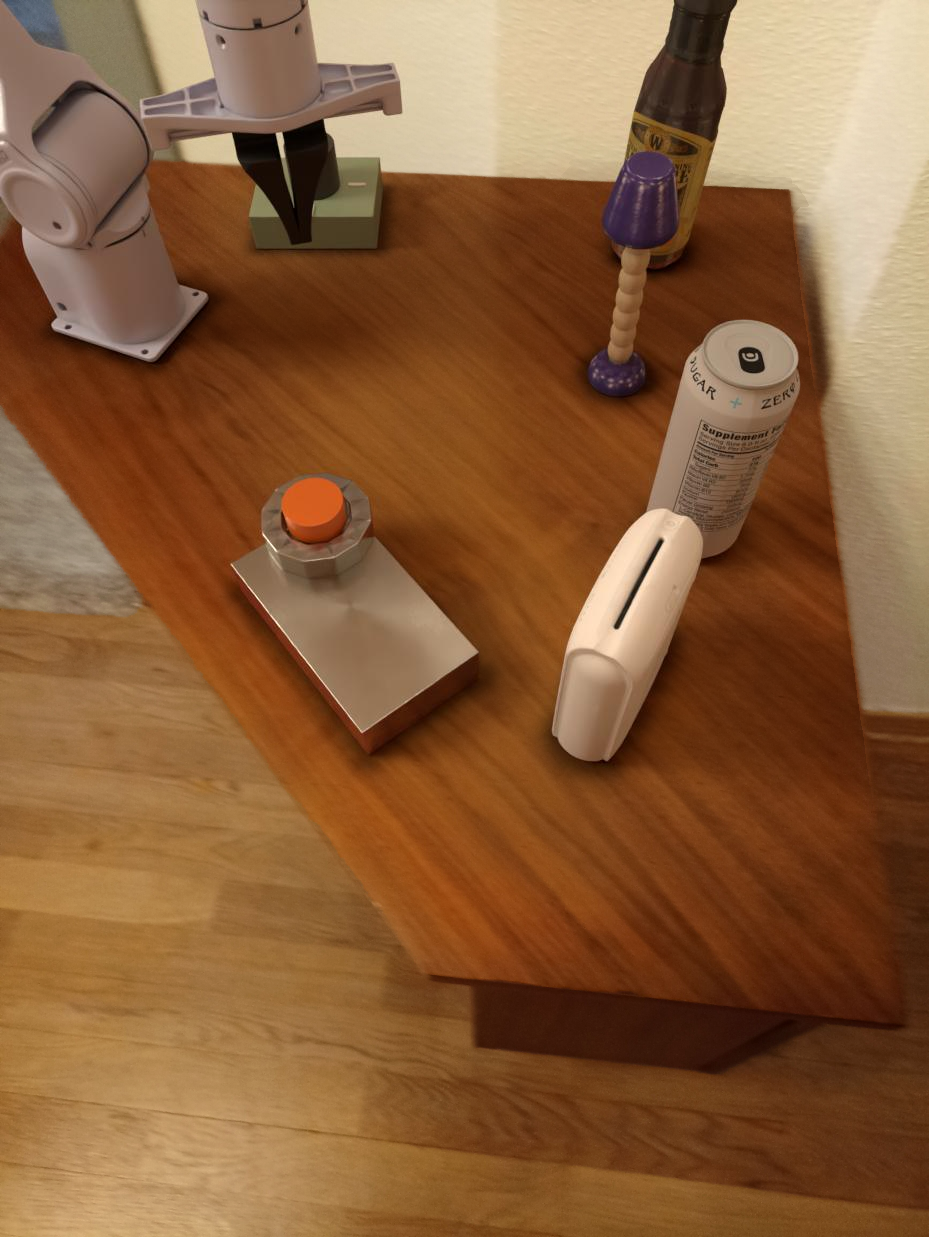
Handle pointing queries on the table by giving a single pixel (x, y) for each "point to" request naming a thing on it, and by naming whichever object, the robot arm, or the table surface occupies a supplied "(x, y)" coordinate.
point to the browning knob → (325, 173)
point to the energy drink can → (726, 427)
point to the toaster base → (355, 621)
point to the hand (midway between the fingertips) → (299, 234)
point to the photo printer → (625, 633)
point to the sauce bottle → (683, 108)
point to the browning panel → (329, 211)
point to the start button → (314, 510)
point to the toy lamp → (634, 261)
